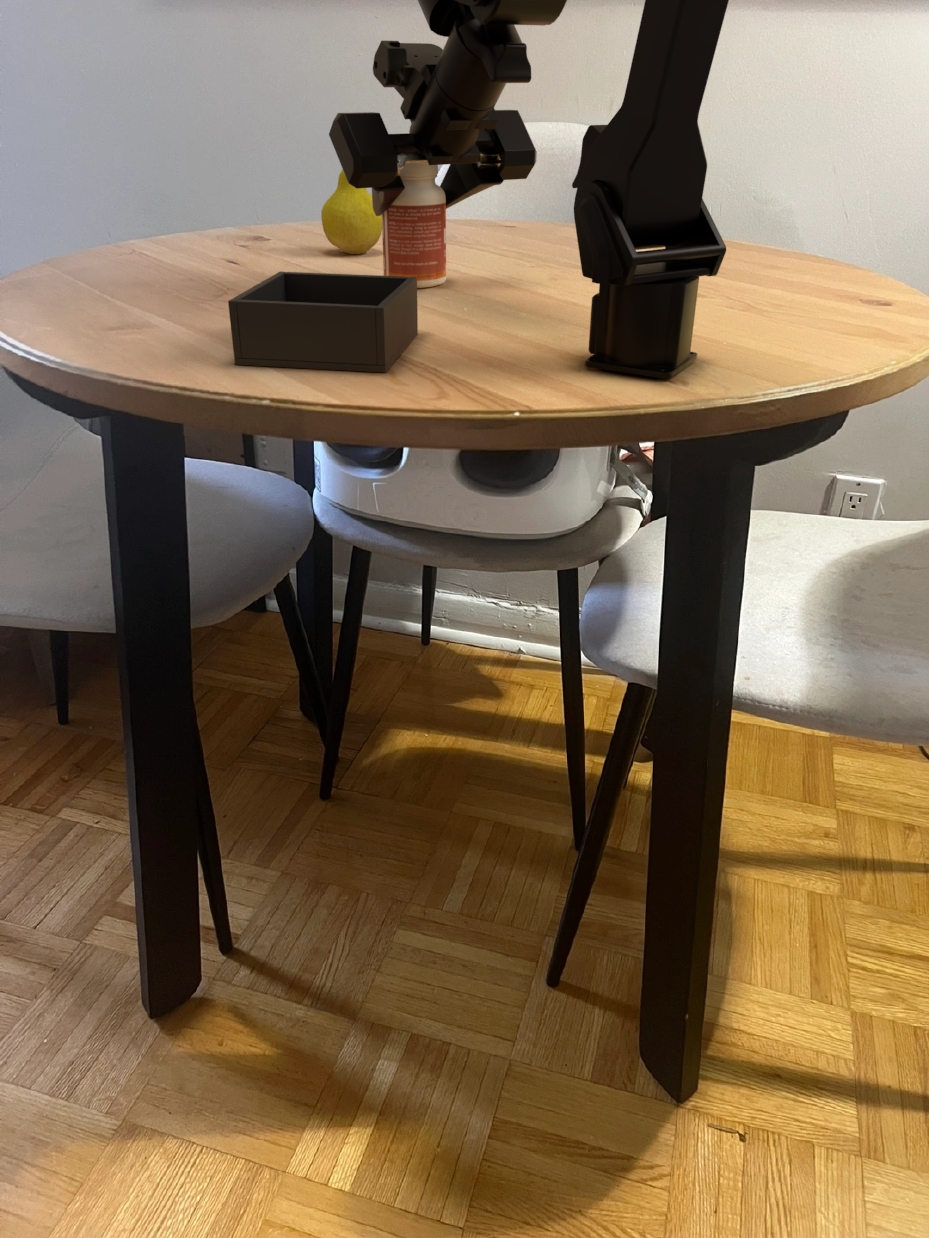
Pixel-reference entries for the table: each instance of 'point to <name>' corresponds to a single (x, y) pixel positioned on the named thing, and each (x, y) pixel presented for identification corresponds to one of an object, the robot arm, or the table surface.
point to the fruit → (351, 218)
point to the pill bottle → (416, 228)
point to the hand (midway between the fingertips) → (407, 210)
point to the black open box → (325, 321)
